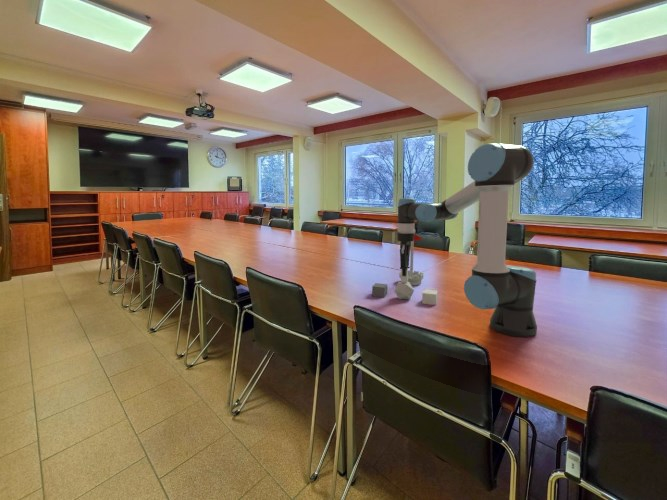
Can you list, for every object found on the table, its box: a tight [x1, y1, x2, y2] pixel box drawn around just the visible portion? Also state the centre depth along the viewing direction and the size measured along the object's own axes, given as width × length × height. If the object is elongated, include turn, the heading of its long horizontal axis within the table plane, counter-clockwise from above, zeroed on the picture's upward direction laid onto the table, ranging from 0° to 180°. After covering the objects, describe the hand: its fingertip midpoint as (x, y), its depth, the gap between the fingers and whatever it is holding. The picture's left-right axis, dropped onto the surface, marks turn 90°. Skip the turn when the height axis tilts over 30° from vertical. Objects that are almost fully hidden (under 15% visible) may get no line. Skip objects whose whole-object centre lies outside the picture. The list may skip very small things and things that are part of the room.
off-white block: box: [421, 288, 439, 306], centre depth 151 cm, size 6×6×5 cm
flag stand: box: [398, 228, 425, 286], centre depth 182 cm, size 13×13×30 cm
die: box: [394, 281, 415, 300], centre depth 157 cm, size 8×9×10 cm
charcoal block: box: [371, 282, 388, 298], centre depth 163 cm, size 6×6×5 cm
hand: (404, 282), depth 156 cm, fingers closed
